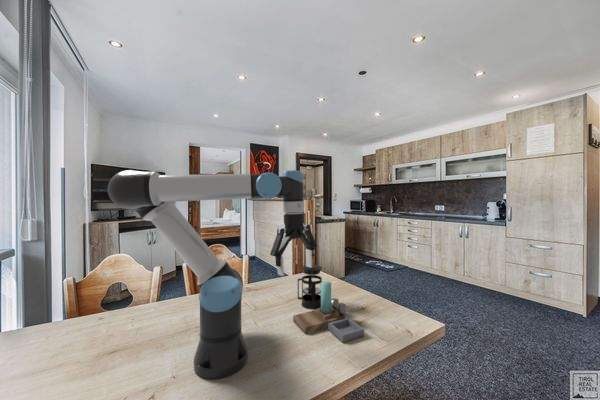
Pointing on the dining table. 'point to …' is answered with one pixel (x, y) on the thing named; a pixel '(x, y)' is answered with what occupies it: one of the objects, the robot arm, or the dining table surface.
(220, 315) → the robot arm
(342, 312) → the bench dogs
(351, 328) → the tray
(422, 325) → the dining table surface
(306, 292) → the french press
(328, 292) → the dowel
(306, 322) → the brown flat block
